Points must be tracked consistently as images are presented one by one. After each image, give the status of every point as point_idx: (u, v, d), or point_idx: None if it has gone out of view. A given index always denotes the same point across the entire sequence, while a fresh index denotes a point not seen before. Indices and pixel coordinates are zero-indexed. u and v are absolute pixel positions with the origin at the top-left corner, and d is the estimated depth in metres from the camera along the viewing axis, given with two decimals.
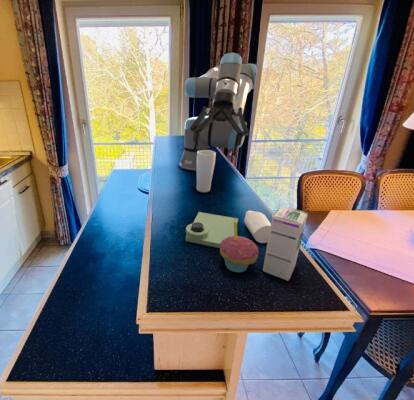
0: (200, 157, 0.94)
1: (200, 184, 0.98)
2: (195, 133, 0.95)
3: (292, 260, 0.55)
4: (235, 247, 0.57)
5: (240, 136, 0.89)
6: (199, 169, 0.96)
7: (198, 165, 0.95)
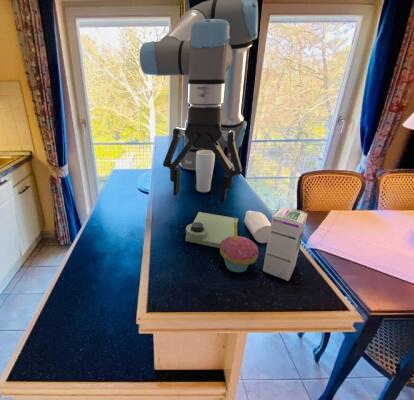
0: (199, 157, 0.94)
1: (200, 184, 0.98)
2: (172, 171, 0.66)
3: (292, 260, 0.55)
4: (235, 247, 0.57)
5: (229, 178, 0.61)
6: (198, 169, 0.96)
7: (197, 165, 0.96)
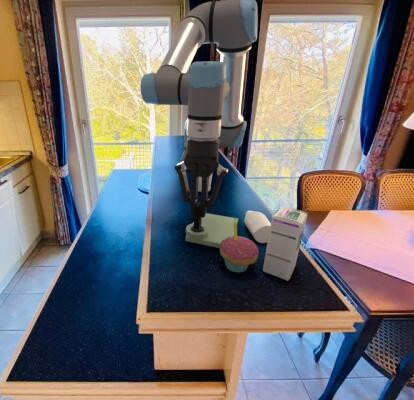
0: None
1: (200, 184, 0.98)
2: (192, 206, 0.68)
3: (292, 260, 0.55)
4: (235, 247, 0.57)
5: (203, 208, 0.67)
6: None
7: None
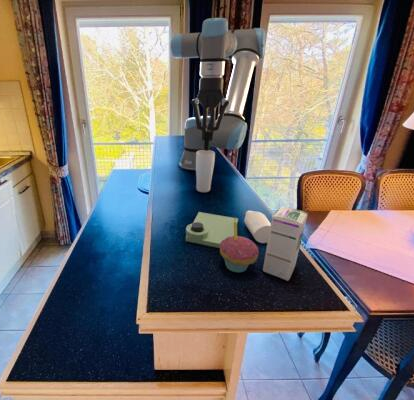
0: (199, 157, 0.94)
1: (200, 184, 0.98)
2: (203, 132, 0.92)
3: (292, 260, 0.55)
4: (235, 247, 0.57)
5: (211, 133, 0.91)
6: (198, 169, 0.96)
7: (197, 165, 0.96)
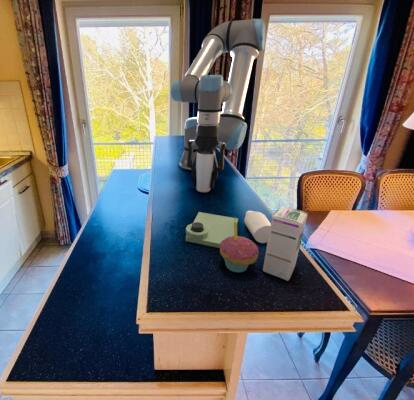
0: (199, 157, 0.94)
1: (200, 184, 0.98)
2: (192, 170, 0.99)
3: (292, 260, 0.55)
4: (235, 247, 0.57)
5: (215, 173, 0.96)
6: (199, 169, 0.96)
7: (198, 165, 0.95)
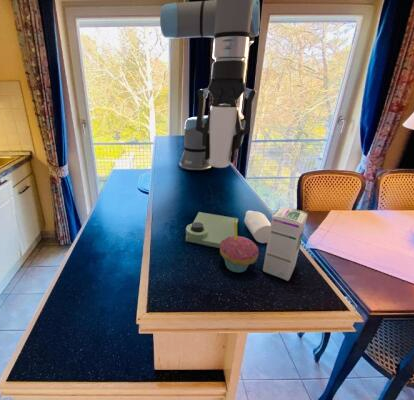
0: (215, 112, 0.62)
1: (215, 155, 0.67)
2: (204, 136, 0.68)
3: (292, 260, 0.55)
4: (235, 247, 0.57)
5: (239, 138, 0.65)
6: (214, 132, 0.65)
7: (212, 126, 0.64)
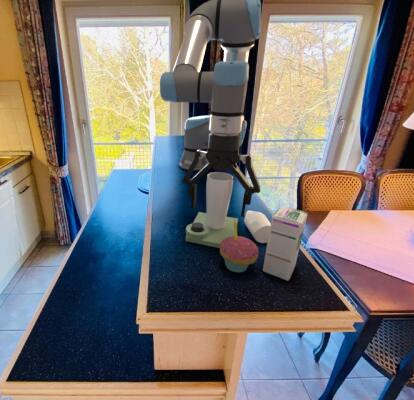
0: (212, 184, 0.67)
1: (212, 219, 0.72)
2: (190, 187, 0.72)
3: (292, 260, 0.55)
4: (235, 247, 0.57)
5: (249, 195, 0.67)
6: (210, 200, 0.69)
7: (209, 194, 0.69)
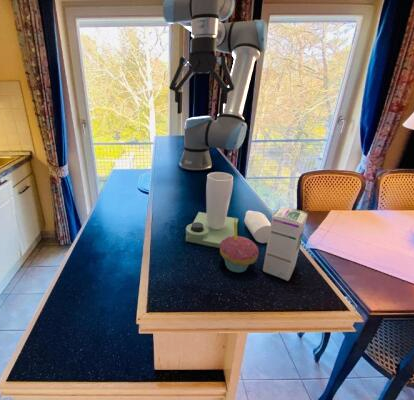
0: (212, 184, 0.67)
1: (212, 219, 0.72)
2: (176, 93, 0.85)
3: (292, 260, 0.55)
4: (235, 247, 0.57)
5: (225, 94, 0.80)
6: (210, 200, 0.69)
7: (209, 194, 0.69)
